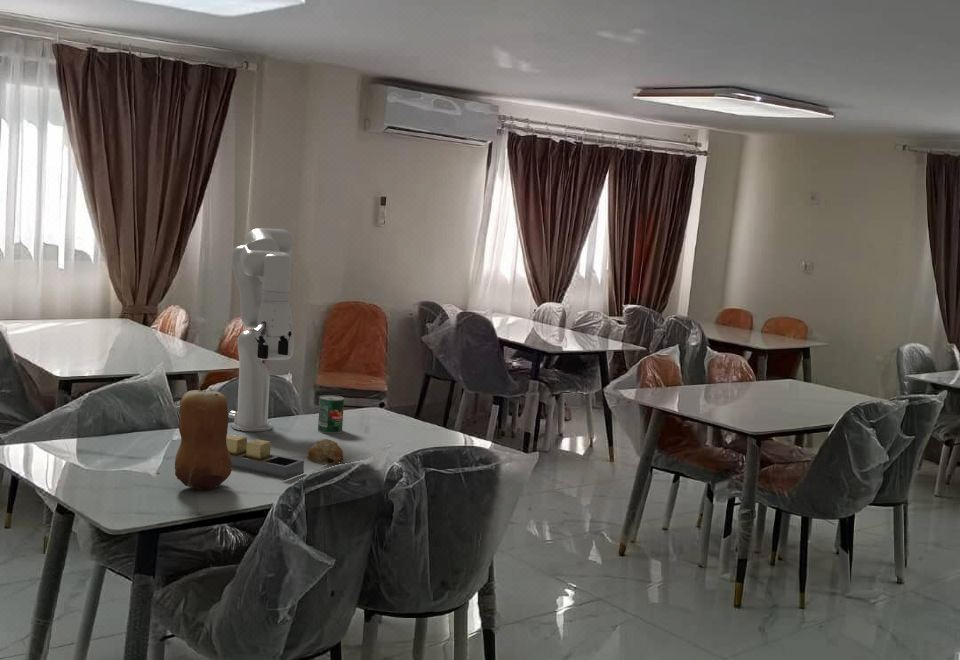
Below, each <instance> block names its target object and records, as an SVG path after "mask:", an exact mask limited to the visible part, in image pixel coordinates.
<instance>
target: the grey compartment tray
mask: <svg viewBox="0 0 960 660" xmlns="http://www.w3.org/2000/svg"><path fill="white" fill-rule="evenodd" d="M246 453H247V452H246ZM246 453H245V454H242V455H239V456H234V455H230V456H231V462H232V465H231V468H232V469H238V470H242V471H243V470H244V471H248V472H253V473H258V474H262V475H267V476H271V477H272V476H273V477H277V478H281V479H282V478H283V481H287V480H289V479H292V478H295V477H298V476H300V475H302V474H303V475H304V472H305V471H304V469H305V466H304V465H305V460H302V459H297V458H292V457H289V456H288V457H287V456H284V455H278V454H272V453H270V458H268V459H265V460H262V461H259V460H254V459H249V458H246Z"/></svg>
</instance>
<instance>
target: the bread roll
mask: <svg viewBox="0 0 960 660" xmlns="http://www.w3.org/2000/svg"><path fill="white" fill-rule="evenodd" d="M306 458H307V460H308V461H310V462H314V463H319V464H323V466H328V465H330V466H331V465H337V463H338V464H340V463H339V462H341V463H342V462H343V459H344V451H343V449H342V447H341V446H340V445H339V444H338V443H337V442H336V441H334V440H331V439H321V440H319V441H317V442H315V443H314V444H312V445H311V446H310V447H309V449H308V451H307V457H306Z"/></svg>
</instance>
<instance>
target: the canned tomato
mask: <svg viewBox="0 0 960 660" xmlns="http://www.w3.org/2000/svg"><path fill="white" fill-rule="evenodd" d="M318 403H319V404H318V418H317V419H318V422H317V431H318V432H319V433H323V434H330V435H331V434H341V433H342V432H343V424H344V423H343V421H344V407H345V397H343V396H341V395H335V394H334V395H331V394H328V395H325V394H324V395H320V396H319V402H318Z"/></svg>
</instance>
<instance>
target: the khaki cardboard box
mask: <svg viewBox="0 0 960 660" xmlns="http://www.w3.org/2000/svg"><path fill="white" fill-rule="evenodd" d="M247 442H248V436H242V435H236V434H231V435H228V436H227V437H226V443H227V448H228V450H229V453H230V455H234V456H239V455H242V454H245V453H246V452H247Z"/></svg>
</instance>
